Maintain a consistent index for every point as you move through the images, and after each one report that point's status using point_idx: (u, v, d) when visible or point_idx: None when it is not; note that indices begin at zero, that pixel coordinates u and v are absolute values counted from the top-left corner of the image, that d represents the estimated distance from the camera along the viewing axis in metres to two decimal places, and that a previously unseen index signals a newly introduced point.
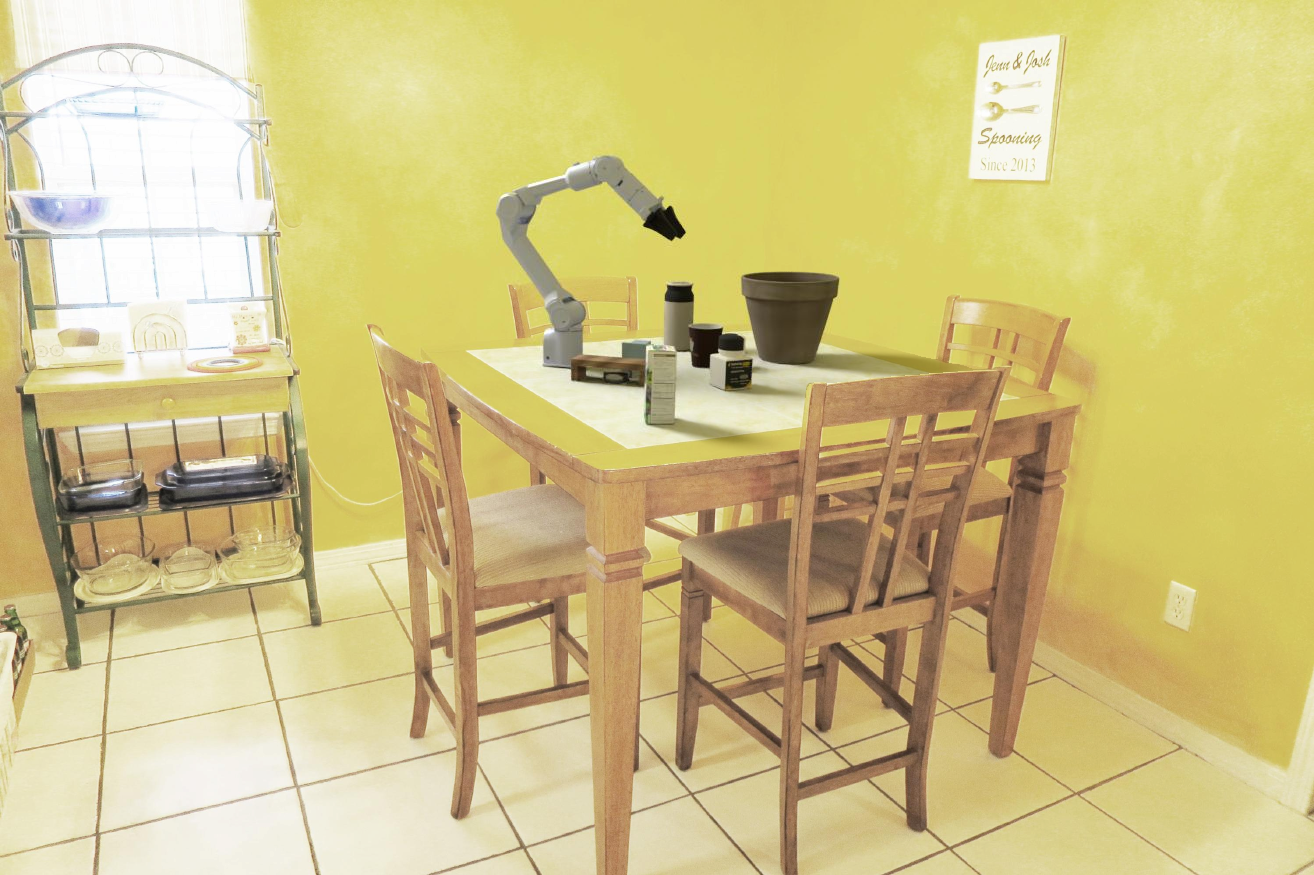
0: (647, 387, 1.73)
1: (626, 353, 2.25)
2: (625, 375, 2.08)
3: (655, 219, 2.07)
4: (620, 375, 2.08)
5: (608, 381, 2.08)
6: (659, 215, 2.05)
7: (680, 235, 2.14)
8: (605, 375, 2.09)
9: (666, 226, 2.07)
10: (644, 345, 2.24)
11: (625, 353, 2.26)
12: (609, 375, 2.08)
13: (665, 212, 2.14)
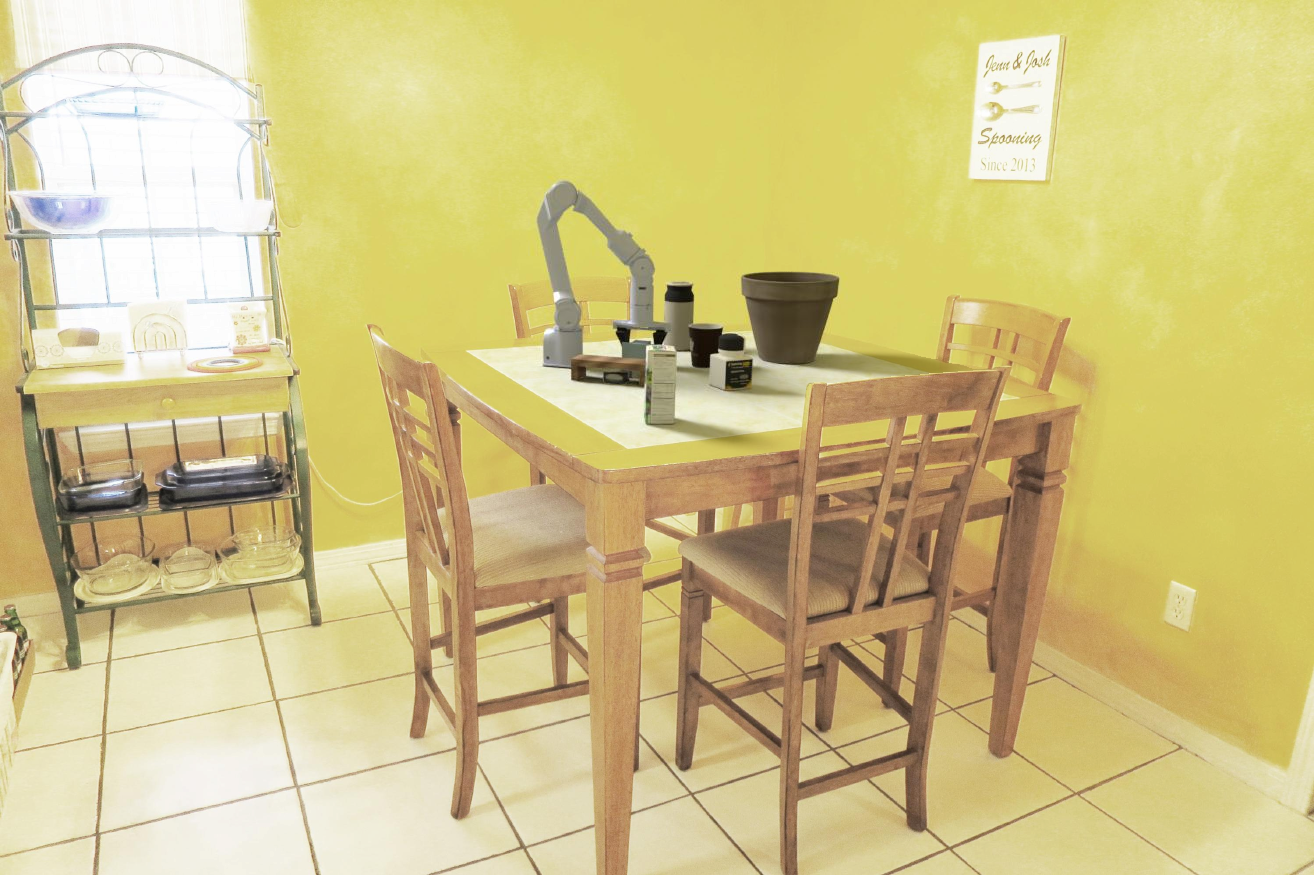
0: (647, 387, 1.73)
1: (626, 353, 2.25)
2: (625, 375, 2.08)
3: None
4: (620, 375, 2.08)
5: (608, 381, 2.08)
6: (665, 336, 2.26)
7: None
8: (605, 375, 2.09)
9: None
10: (644, 345, 2.24)
11: (625, 353, 2.26)
12: (609, 375, 2.08)
13: (628, 330, 2.28)
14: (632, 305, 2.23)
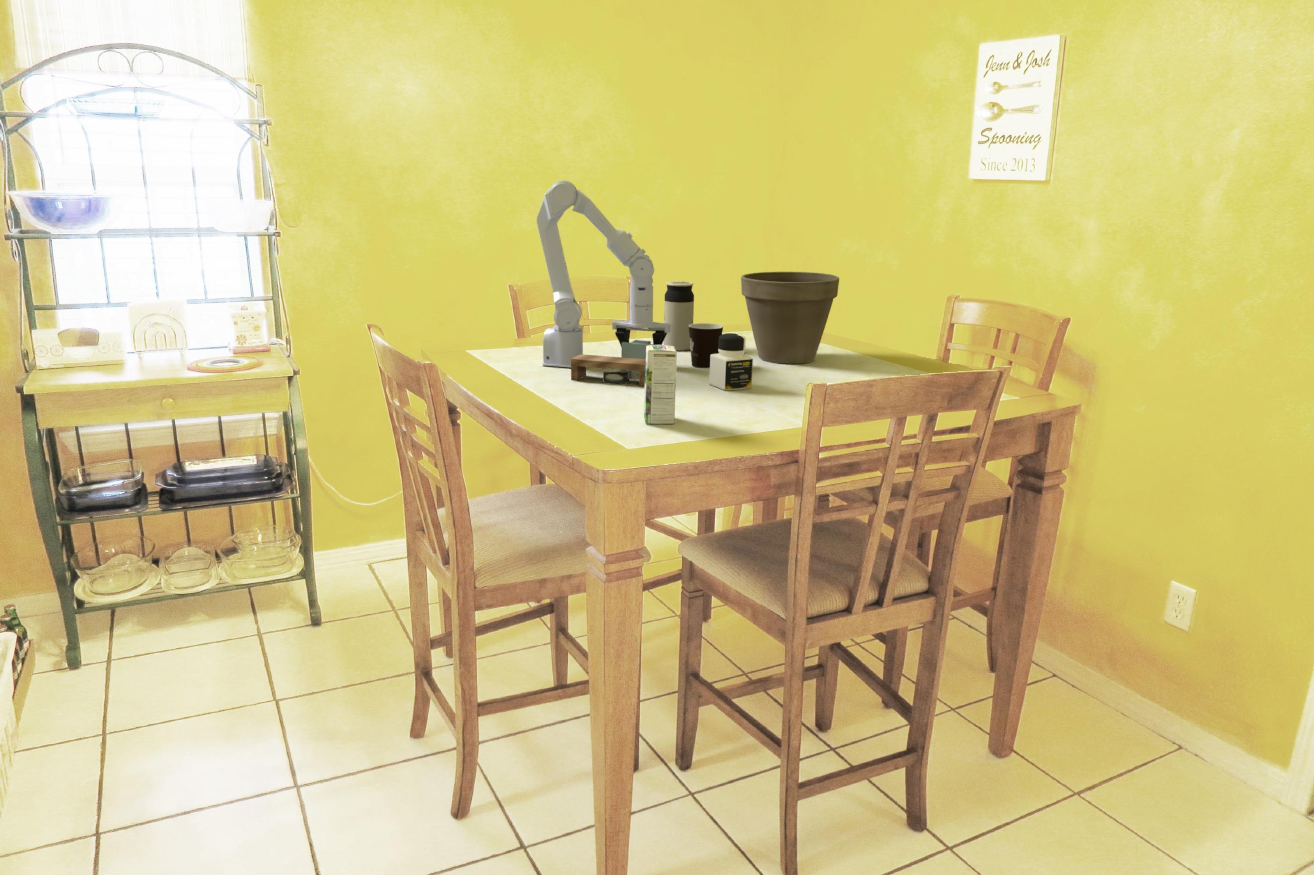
0: (647, 387, 1.73)
1: (625, 353, 2.25)
2: (625, 375, 2.08)
3: None
4: (620, 375, 2.08)
5: (608, 381, 2.08)
6: (664, 337, 2.26)
7: None
8: (605, 375, 2.09)
9: None
10: (644, 345, 2.23)
11: (625, 353, 2.25)
12: (609, 375, 2.08)
13: (628, 331, 2.28)
14: (632, 306, 2.22)
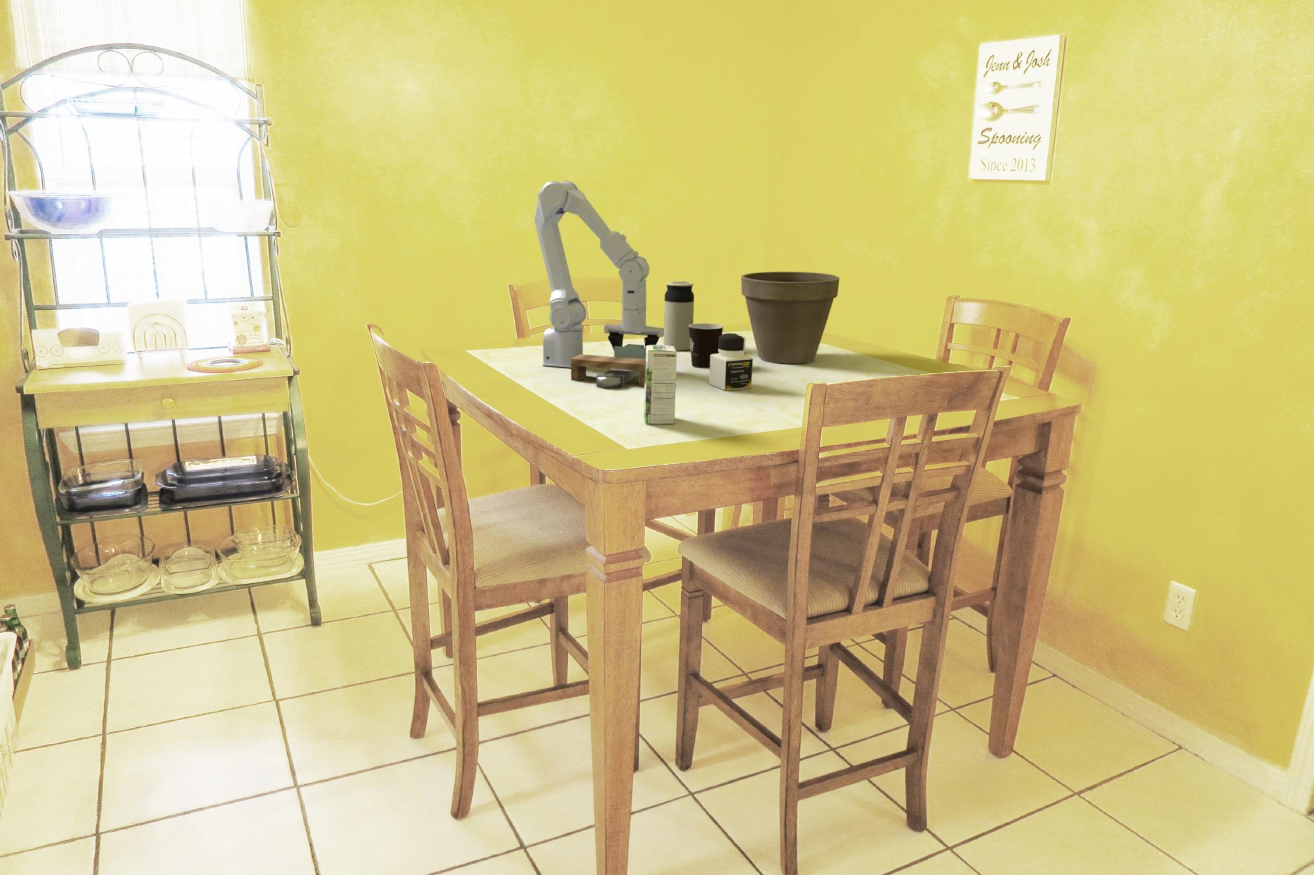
0: (647, 387, 1.73)
1: None
2: (618, 379, 2.03)
3: None
4: (613, 380, 2.03)
5: (601, 386, 2.04)
6: (657, 341, 2.21)
7: None
8: (598, 380, 2.04)
9: None
10: (637, 349, 2.18)
11: None
12: (602, 380, 2.03)
13: (621, 335, 2.23)
14: (624, 309, 2.17)
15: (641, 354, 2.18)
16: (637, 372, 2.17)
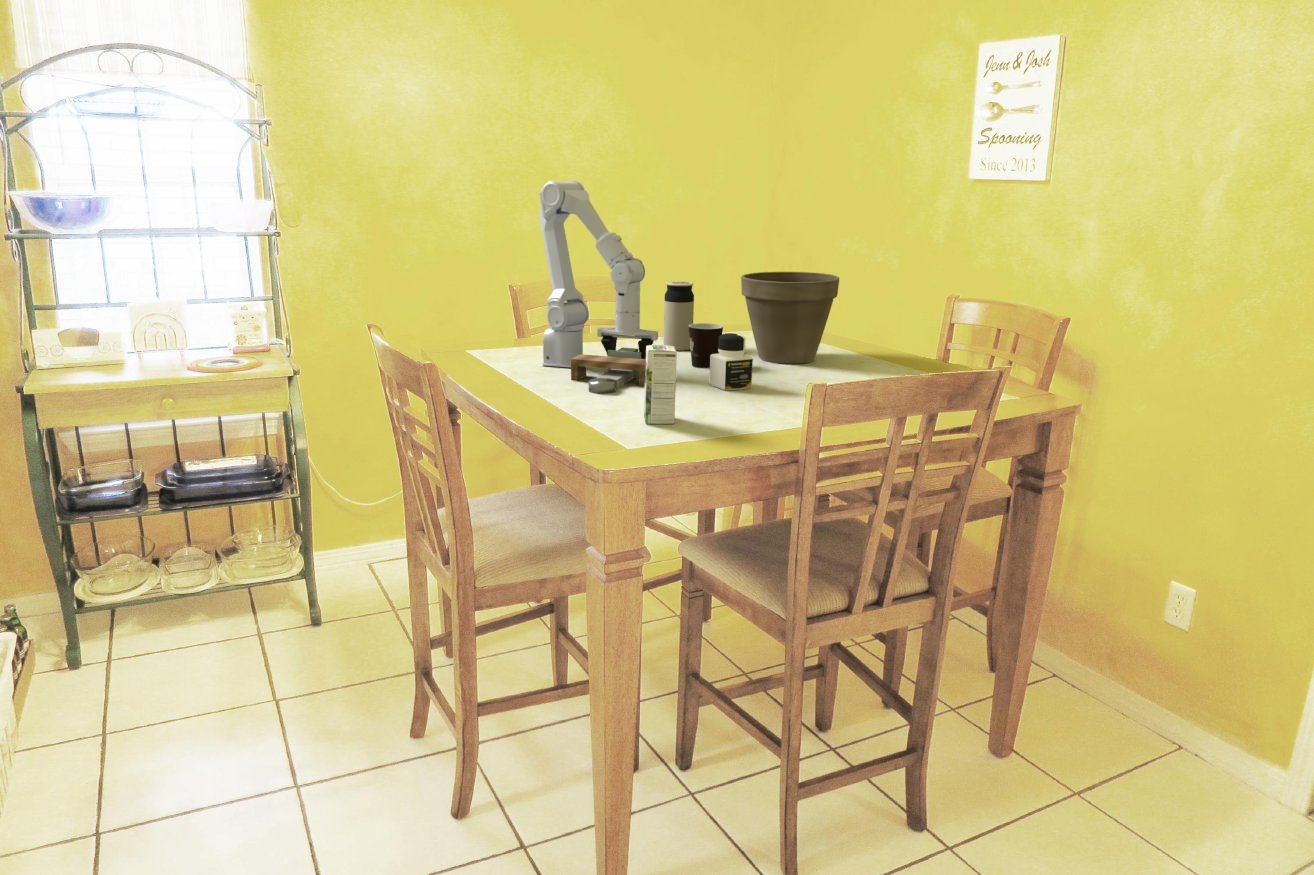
0: (647, 387, 1.73)
1: None
2: (610, 384, 1.99)
3: None
4: (605, 385, 1.98)
5: (593, 391, 1.99)
6: None
7: None
8: (590, 384, 2.00)
9: (644, 356, 2.17)
10: (631, 353, 2.13)
11: None
12: (593, 384, 1.99)
13: (615, 338, 2.18)
14: (617, 312, 2.12)
15: None
16: (631, 376, 2.13)
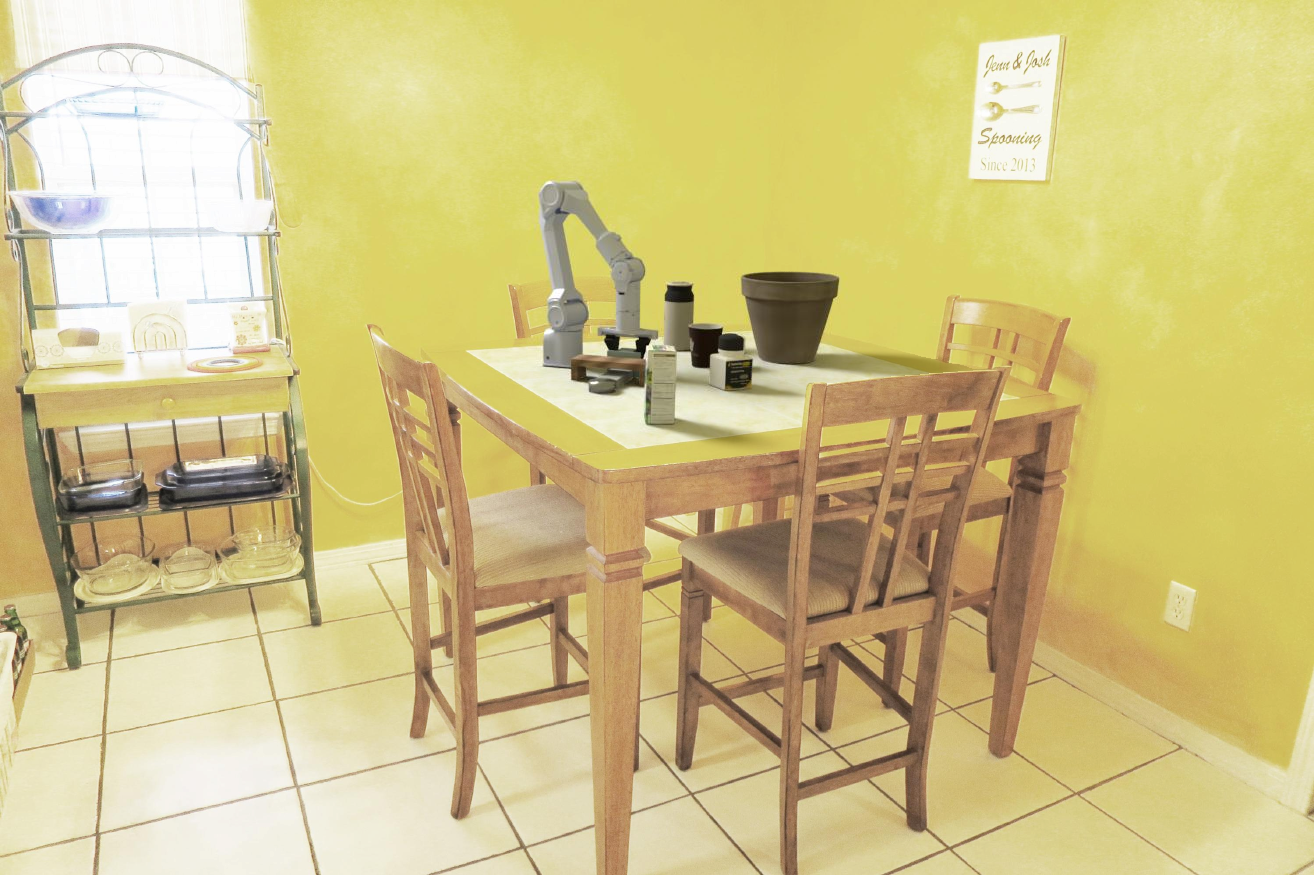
0: (647, 387, 1.73)
1: None
2: (610, 384, 1.99)
3: None
4: (605, 385, 1.98)
5: (592, 391, 1.99)
6: (648, 344, 2.17)
7: None
8: (590, 384, 2.00)
9: (642, 355, 2.17)
10: (630, 353, 2.13)
11: None
12: (593, 384, 1.99)
13: (617, 337, 2.18)
14: (618, 311, 2.13)
15: None
16: (630, 376, 2.13)
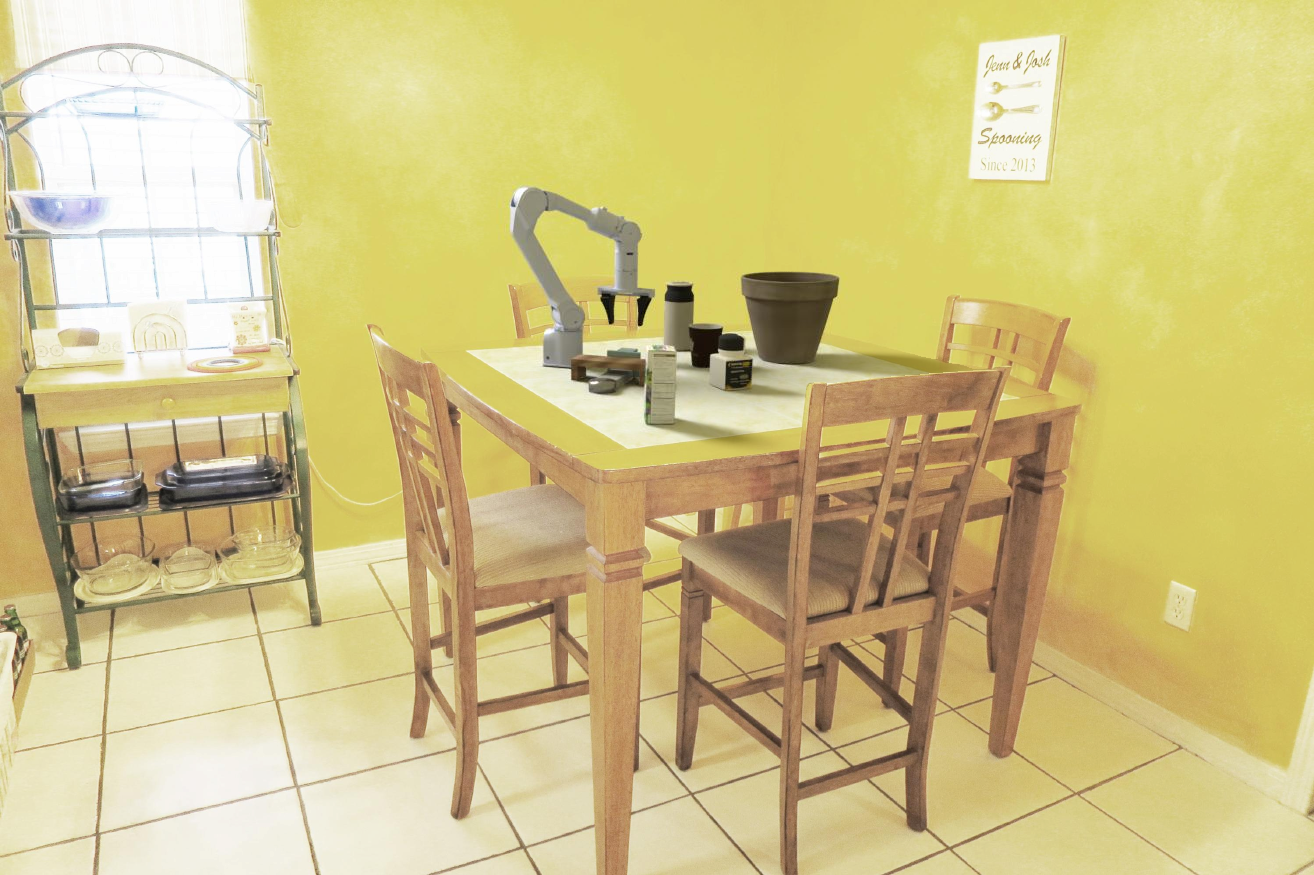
0: (647, 387, 1.73)
1: None
2: (610, 384, 1.99)
3: None
4: (605, 385, 1.98)
5: (592, 391, 1.99)
6: (649, 302, 2.28)
7: (612, 322, 2.30)
8: (590, 384, 1.99)
9: (643, 313, 2.29)
10: (630, 353, 2.13)
11: None
12: (593, 384, 1.99)
13: (613, 296, 2.30)
14: (616, 271, 2.24)
15: None
16: (630, 376, 2.13)
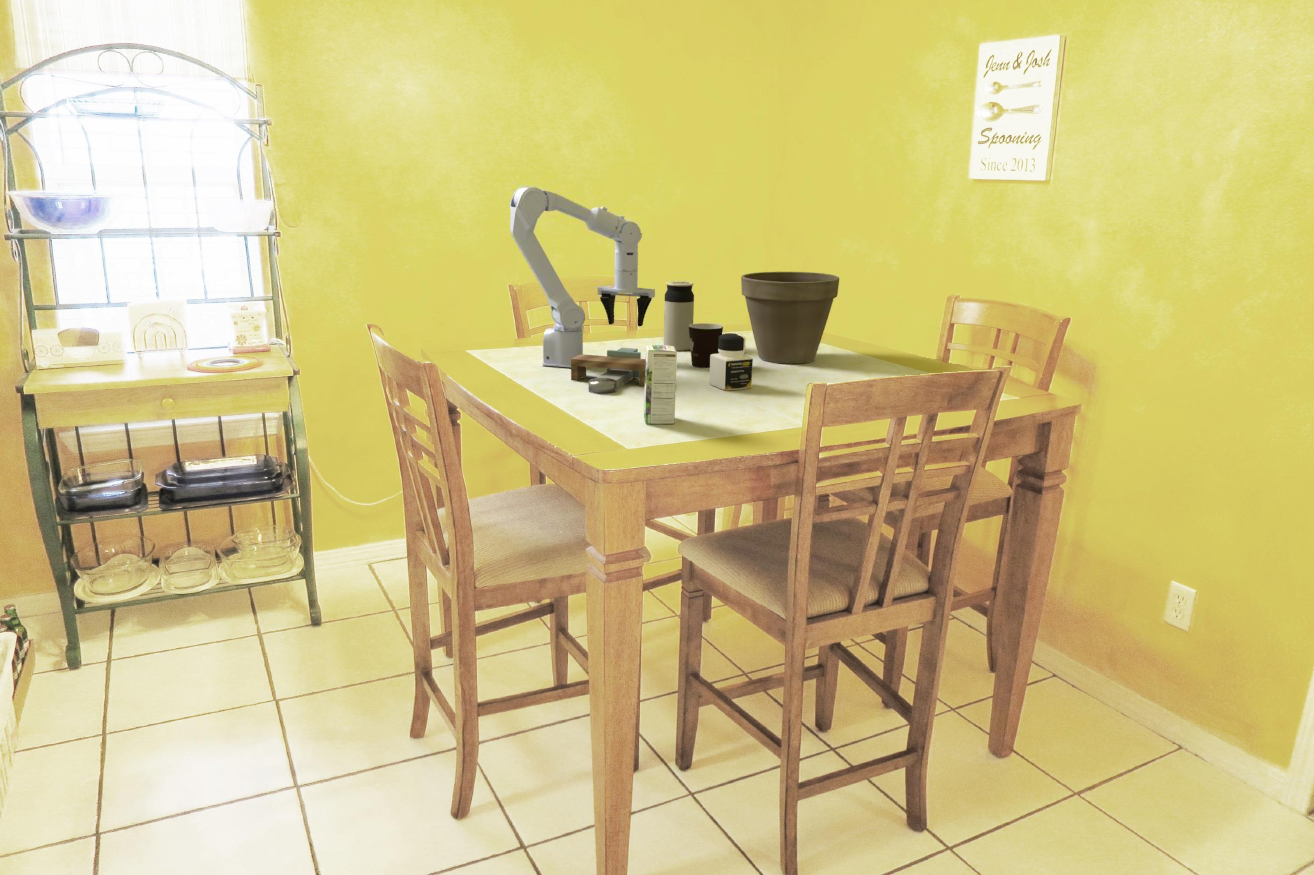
0: (647, 387, 1.73)
1: None
2: (610, 384, 1.99)
3: None
4: (605, 384, 1.98)
5: (592, 391, 1.99)
6: (649, 302, 2.28)
7: (612, 322, 2.30)
8: (590, 384, 1.99)
9: (643, 313, 2.29)
10: (630, 353, 2.13)
11: None
12: (593, 384, 1.99)
13: (613, 296, 2.30)
14: (616, 271, 2.24)
15: None
16: (630, 376, 2.13)
